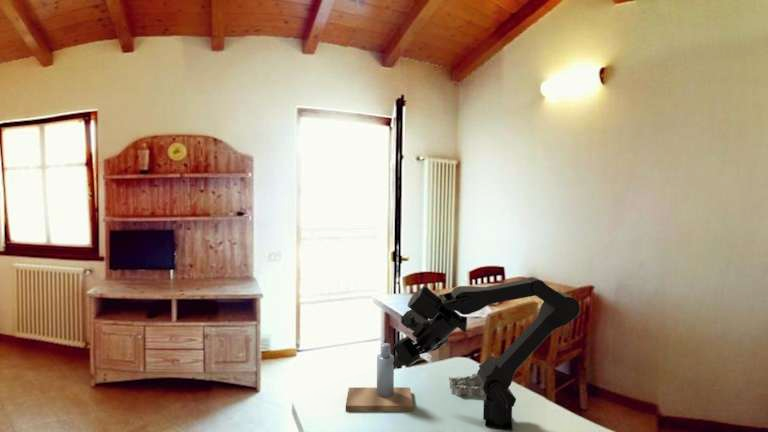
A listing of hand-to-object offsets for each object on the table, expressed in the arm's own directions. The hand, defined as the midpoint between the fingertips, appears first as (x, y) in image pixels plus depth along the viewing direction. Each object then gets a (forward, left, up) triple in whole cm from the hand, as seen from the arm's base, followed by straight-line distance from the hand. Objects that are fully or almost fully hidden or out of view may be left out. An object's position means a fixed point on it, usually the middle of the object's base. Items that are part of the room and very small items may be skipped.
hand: (404, 359), depth 106 cm
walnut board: (+7, 0, -13) cm, 15 cm away
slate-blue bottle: (+6, -2, -11) cm, 13 cm away
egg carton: (-17, -13, -13) cm, 25 cm away
